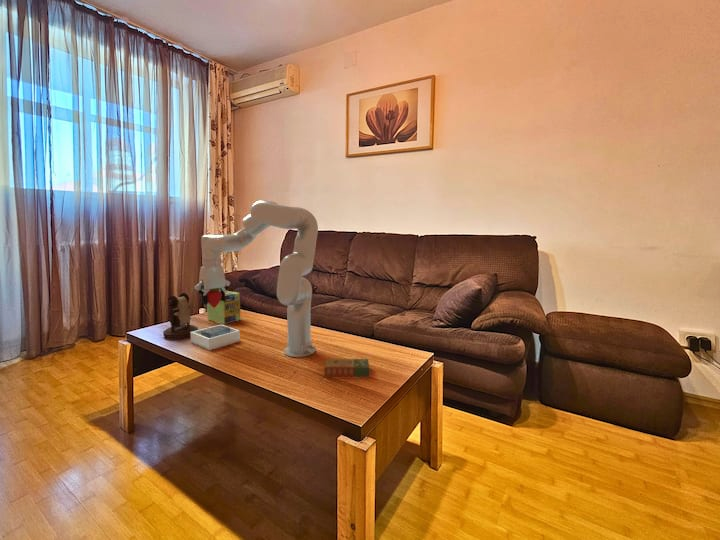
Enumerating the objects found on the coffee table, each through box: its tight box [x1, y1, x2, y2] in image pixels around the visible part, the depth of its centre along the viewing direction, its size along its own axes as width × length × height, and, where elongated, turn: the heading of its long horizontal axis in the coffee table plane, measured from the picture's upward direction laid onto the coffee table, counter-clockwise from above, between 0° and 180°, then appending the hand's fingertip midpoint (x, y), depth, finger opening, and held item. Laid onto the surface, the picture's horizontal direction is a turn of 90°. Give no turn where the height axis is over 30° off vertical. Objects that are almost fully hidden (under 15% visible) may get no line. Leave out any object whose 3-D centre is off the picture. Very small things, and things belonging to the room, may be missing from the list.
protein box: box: [206, 290, 242, 325], centre depth 190 cm, size 10×15×16 cm
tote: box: [190, 323, 241, 351], centre depth 156 cm, size 15×15×5 cm
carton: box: [324, 358, 371, 378], centre depth 126 cm, size 8×16×4 cm, turn 92°
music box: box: [163, 292, 199, 340], centre depth 164 cm, size 15×15×20 cm
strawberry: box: [206, 288, 222, 308], centre depth 153 cm, size 6×8×10 cm
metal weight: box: [201, 324, 230, 338], centre depth 156 cm, size 6×10×5 cm, turn 150°
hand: (213, 302), depth 154 cm, fingers closed on strawberry, 7 cm apart
